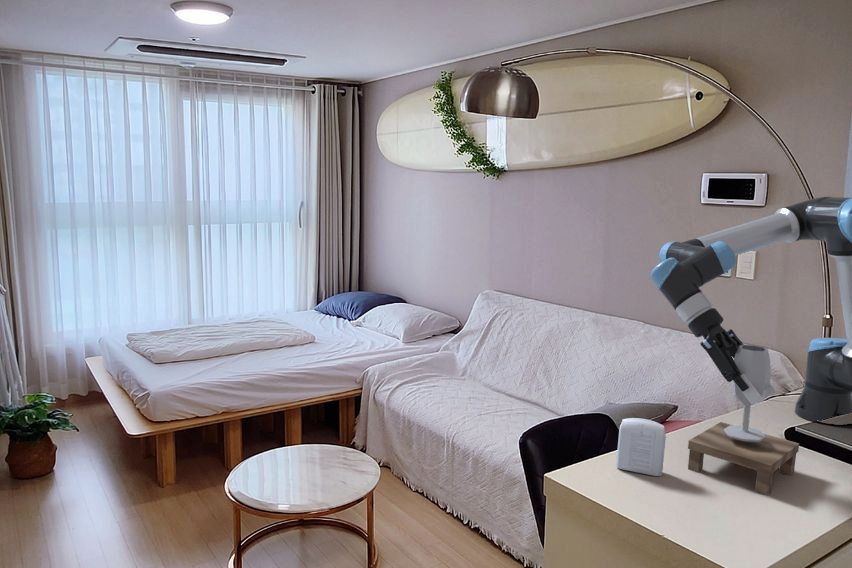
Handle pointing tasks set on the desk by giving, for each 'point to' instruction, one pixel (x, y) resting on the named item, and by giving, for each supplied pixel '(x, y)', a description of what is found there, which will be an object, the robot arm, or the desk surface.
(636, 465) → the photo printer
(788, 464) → the footstool
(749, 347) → the wineglass
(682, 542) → the desk surface
